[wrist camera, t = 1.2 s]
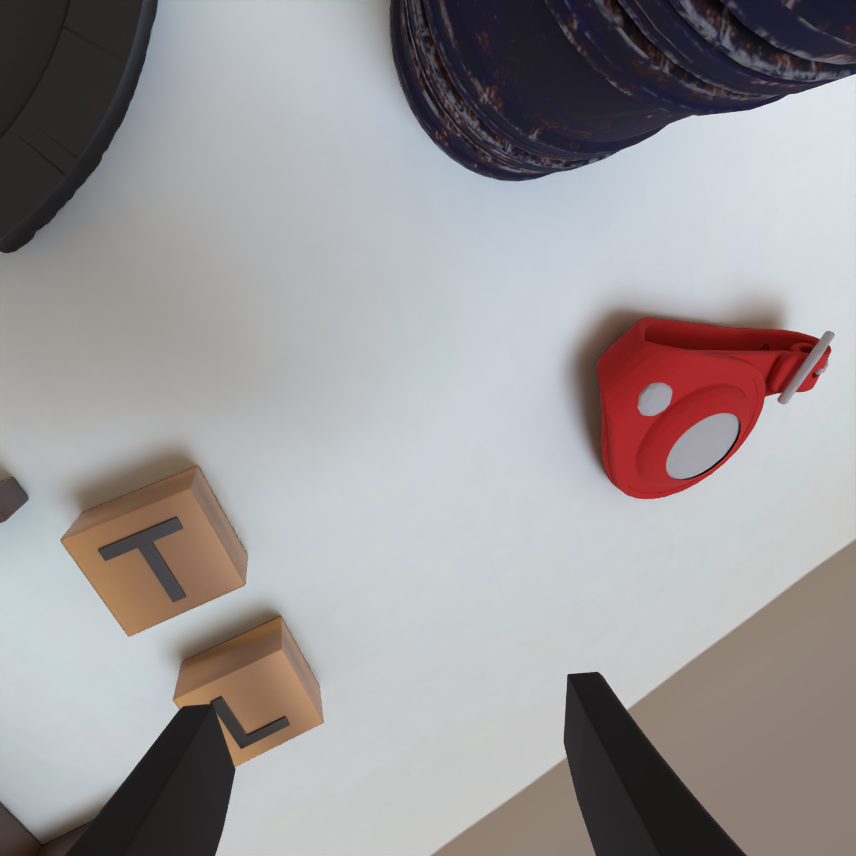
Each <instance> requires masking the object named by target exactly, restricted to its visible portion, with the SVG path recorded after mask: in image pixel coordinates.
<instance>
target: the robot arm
mask: <svg viewBox="0 0 856 856" xmlns="http://www.w3.org/2000/svg"><path fill="white" fill-rule="evenodd" d="M564 745H565V750H566V754H567V758H568V763H569V767H570V771H571V775H572V779H573V783H574V787H575V792H576V796H577V800H578V803H579V806H580V809H581V811H582V815H583V818H584V821H585V824H586V827H587V830H588V833H589V836H590V839H591V842H592V845H593V848H594V851H595V854H596V856H747V855H746V854H745V853H744V852H743V851H742V850H741V849H740V848H739V847H738V846H737V844H736V843H735V842H734V841H733V840H732V839H731V838H730V837H729V836H728V835H727V833H726V832H725V831H724V830H723V829H722V828H721V827H720V825H719V824H718V823H717V822H716V821H715V820H714V819H713V818H712V817H711V815H710V814H709V813H708V812H707V811H706V810H705V808H704V807H703V806H702V805H701V804H700V802H699V801H698V800H697V799H696V798H695V797H694V796H693V794H692V793H691V792H690V791H689V789H688V788H687V787H686V786H685V785H684V783H683V782H682V781H681V780H680V778H679V777H678V776H677V775H676V774H675V772H674V771H673V770H672V769H671V767H670V766H669V765H668V764H667V762H666V761H665V760H664V759H663V758H662V756H661V755H660V754H659V753H658V752H657V750H656V749H655V747H654V746H653V745H652V744H651V742H650V741H649V740H648V738H647V737H646V736H645V734H644V733H643V732H642V730H641V729H640V728H639V727H638V725H637V724H636V722H635V721H634V720H633V719H632V717H631V716H630V714H629V713H628V712H627V710H626V709H625V708H624V706H623V705H622V703H621V702H620V701H619V699H618V698H617V696H616V695H615V693H614V692H613V691H612V689H611V688H610V686H609V685H608V683H607V682H606V680H605V679H604V677H603V676H602V675H601V674H600V673H598V672H590V673H577V674H568V676H567V693H566V710H565V727H564ZM234 774H235V767H234V764H233V761H232V758H231V755H230V752H229V749H228V746H227V743H226V740H225V737H224V734H223V731H222V728H221V725H220V722H219V719H218V716H217V713H216V710H215V707H214V705H213V704H202V705H190V706H183V707H182V708H181V709H180V710H179V711H178V712H177V714H176V715H175V716H174V718H173V719H172V720H171V721H170V723H169V724H168V725H167V727H166V728H165V729H164V731H163V732H162V733H161V735H160V736H159V737H158V738H157V740H156V741H155V742H154V744H153V745H152V746H151V748H150V749H149V750H148V751H147V753H146V754H145V755H144V757H143V758H142V759H141V761H140V762H139V763H138V764H137V766H136V767H135V768H134V770H133V771H132V772H131V773H130V775H129V776H128V777H127V779H126V780H125V781H124V782H123V784H122V785H121V786H120V787H119V789H118V790H117V791H116V792H115V794H114V795H113V796H112V797H111V799H110V800H109V801H108V802H107V804H106V805H105V806H104V807H103V809H102V810H101V811H100V812H99V814H98V815H97V816H96V817H95V819H94V820H93V821H92V822H91V824H90V825H89V826H88V827H87V828H86V830H85V831H84V832H83V833H82V835H81V836H80V837H79V838H78V839H77V841H76V842H75V843H74V844H73V845H72V846H71V848H70V849H69V850H68V851H67V852H66V853H65V855H64V856H215V854H216V851H217V848H218V844H219V841H220V838H221V834H222V831H223V827H224V822H225V818H226V813H227V809H228V804H229V799H230V794H231V789H232V784H233V779H234Z"/></svg>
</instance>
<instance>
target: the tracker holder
mask: <svg viewBox="0 0 856 856" xmlns="http://www.w3.org/2000/svg"><path fill="white" fill-rule="evenodd" d="M834 335H835V334H834V333H833V332H830V331H827V332H825V333H824V335H823V336H822V337H821V339H818V338H816V337H813V336H809V335H806V334H802V333H799V332H794V331H787V330H775V329H752V328H729V327H721V326H713V325H705V324H697V323H689V322H681V321H673V320H665V319H657V318H643V319H640V320H639V321H637V322H636V323H635V324H634V325H633V326H632V327H631V328H630V329H629V330H628V331H627V332H626V333H624V334H623V335H622V336H621V337H620V338H619V339H618V340H617V341H616V342H615V343H614V344H613V345H611V346H610V347H609V348H608V349H607V350H606V351H605V352H604V353H603V354H602V356H601V357H600V359H599V362H598V368H597V374H598V381H599V388H600V392H601V411H602V434H601V451H602V458H603V464H604V467H605V471H606V474H607V476H608V478H609V479H610V481H611V482H612V483H613V484H614V485H615V486H616V487H617V488H619V489H620V490H621V491H622V492H624V493H625V494H626V495H629V496H632V497H635V498H640V499H655V498H660V497H666V496H669V495H672V494H675V493H678V492H681V491H683V490H685V489H687V488H689V487H691V486H693V485H695V484H696V483H698V482H700V481H701V480H703V479H704V478H706V477H707V476H709V475H711V474H712V473H713V472H714V471H715V470H717V469H718V468H719V467H720V466H722V465H723V464H724V463H725V462H726V461H727V460H728V459H729V458H730V457H731V456H732V455H733V454H734V453H735V452H736V451H737V450H738V449H739V447H740V446H741V445H742V444H743V442H744V441H745V440H746V438H747V437H748V435H749V434H750V432H751V431H752V429H753V428H754V426H755V424H756V422H757V420H758V418H759V415H760V413H761V410H762V408H763V403H764V398H765V396H769V395H773V394H776V393H782V394H781V395H780V396H779V398H778V402H779V403H781V404H786V403H788V401H789V400H790V398H791V397H792V396H793V394H794V393H795V392H805V391H808V390H810V389H812V388H813V387H814V385H815V383H816V381H817V379H818V377H819V376H820V374H821V373H823V372H824V371H825V370H826V368H827V366H828V357H829V355H830V353H831V348H830V346H829V344H830V342H831V341H832V339H833V338H834Z"/></svg>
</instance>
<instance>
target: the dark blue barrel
mask: <svg viewBox="0 0 856 856" xmlns="http://www.w3.org/2000/svg"><path fill="white" fill-rule="evenodd" d="M390 36H391V43H392V50H393V57H394V62H395V66H396V69H397V73H398V77H399V80H400V84H401V87H402V89H403V91H404V94H405V96H406V98H407V101H408V103H409V105H410V108H411V109H412V111H413V113H414V114H415V116H416V118H417V119H418V121H419V123H420V124H421V126H422V128H423V129H424V130H425V131H426V133H427V134H428V135H429V136H430V138H431V139H432V140H433V141H434V143H435V144H436V145H437V146H438V147H440V148H441V149H442V150H443V151H444V152H445V153H446V154H447V155H448V156H449V157H450V158H452V159H453V160H455V161H456V162H458V163H459V164H461V165H462V166H464V167H465V168H467V169H469V170H471V171H473V172H476V173H478V174H480V175H482V176H485V177H490V178H494V179H498V180H505V181H524V180H531V179H537V178H540V177H543V176H546V175H549V174H552V173H555V172H561V171H568V170H572V169H575V168H578V167H581V166H584V165H587V164H590V163H593V162H596V161H599V160H602V159H605V158H607V157H609V156H611V155H613V154H614V153H616V152H618V151H620V150H622V149H624V148H627V147H630V146H633V145H636V144H638V143H640V142H641V141H643V140H645V139H647V138H649V137H651V136H652V135H654V134H656V133H657V132H659V131H660V130H661V129H663V128H664V127H665V126H666V125H668V124H670V123H672V122H675V121H678V120H680V119H683V118H686V117H689V116H691V115H698V116H701V115H710V114H718V113H727V112H736V111H745V110H751V109H754V108H757V107H760V106H763V105H766V104H769V103H772V102H775V101H778V100H780V99H781V98H783V97H785V96H787V95H789V94H796V93H800V92H803V91H806V90H809V89H812V88H815V87H818V86H821V85H824V84H827V83H830V82H833V81H836V80H839V79H842V78H845V77H848V76H851V75H854V74H856V0H391V6H390Z"/></svg>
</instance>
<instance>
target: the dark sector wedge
mask: <svg viewBox="0 0 856 856" xmlns="http://www.w3.org/2000/svg"><path fill="white" fill-rule="evenodd" d="M157 1H158V0H0V252H3V253H10V252H14V251H16V250H18V249H19V248H20V247H22V246H23V245H25V244H27V243H28V242H29V241H30V240H31V239H32V238H33V237H34V234H35V232H36V231H37V230H39V229H41V228H42V227H43V226H44V225H46V224H48V223H49V222H50V221H51V219H52V218H54V216H55V215H56V213H57V211H58V210H59V209H61V208H62V207H63V206H64V205H65V204H66V202H67V201H68V200H70V199H71V198H72V197H73V195H74V193H75V191H76V190H77V189H78V188H79V187H80V186H81V185H82V184H83V183H84V182H85V181H86V179H87V178H88V176H89V175H90V174H91V173H92V172H93V171H94V170H95V168H96V167H97V166H98V164H99V163H100V161H101V158H102V154H103V153H104V152H105V151H106V150H107V149H108V147H109V144H110V143H111V141H112V139H113V136H114V134H115V132H116V131H117V129H118V128H119V127H120V125H121V123H122V121H123V119H124V116H125V114H126V112H127V109H128V106H129V103H130V101H131V100H132V98H133V95H134V91H135V89H136V86H137V83H138V80H139V76H140V73H141V71H142V67H143V64H144V61H145V57H146V50H147V47H148V44H149V38H150V32H151V29H152V25H153V22H154V19H155V16H156V10H157Z"/></svg>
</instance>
